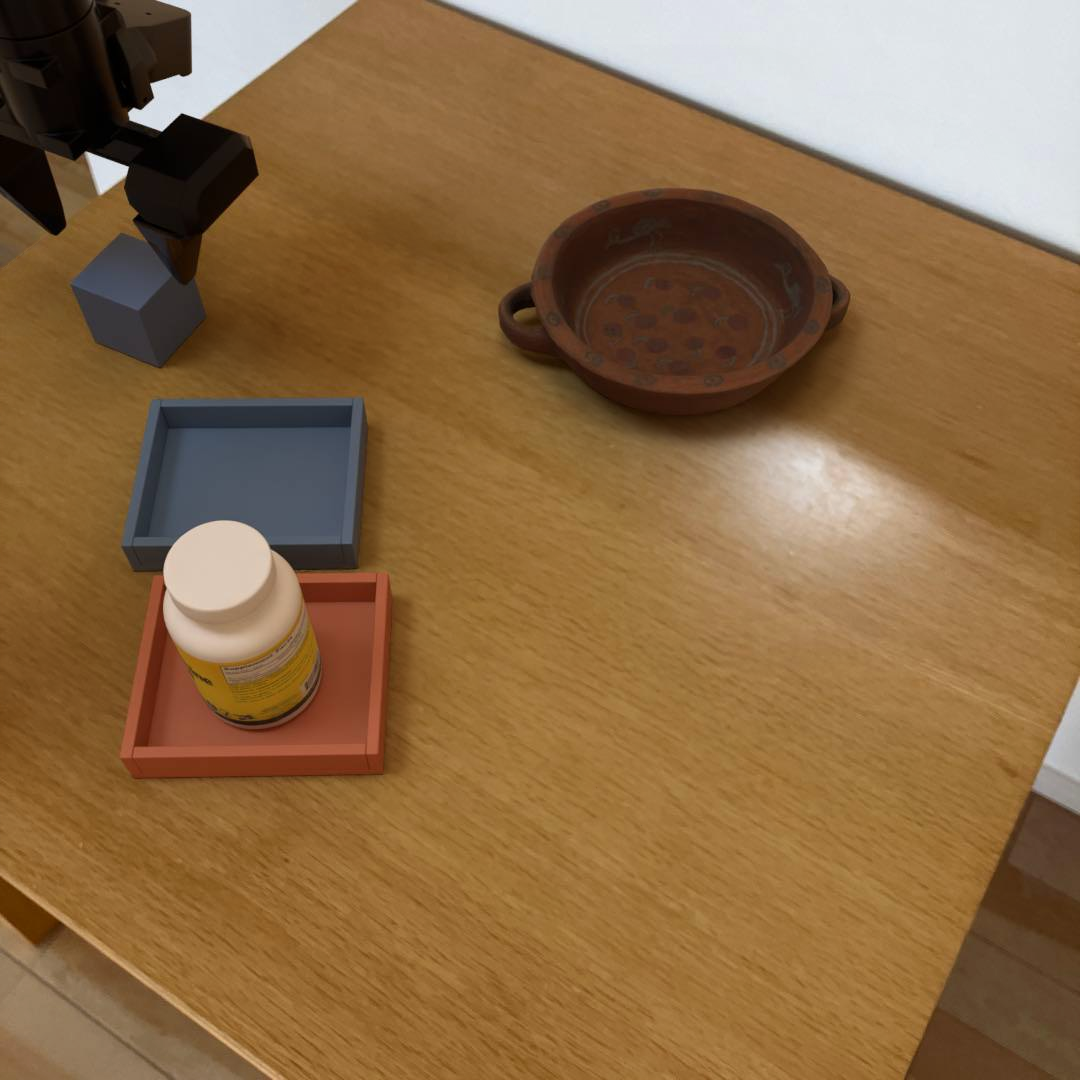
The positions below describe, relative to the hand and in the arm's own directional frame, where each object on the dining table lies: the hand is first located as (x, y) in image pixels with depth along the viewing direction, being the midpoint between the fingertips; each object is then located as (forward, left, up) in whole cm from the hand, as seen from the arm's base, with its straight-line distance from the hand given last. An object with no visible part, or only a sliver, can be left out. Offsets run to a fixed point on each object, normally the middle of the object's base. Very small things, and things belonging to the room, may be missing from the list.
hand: (122, 255), depth 68 cm
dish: (+33, -1, -6) cm, 34 cm away
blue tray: (+8, -13, -6) cm, 16 cm away
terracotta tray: (+10, -25, -6) cm, 28 cm away
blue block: (0, 0, -6) cm, 6 cm away
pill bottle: (+10, -25, -6) cm, 27 cm away
